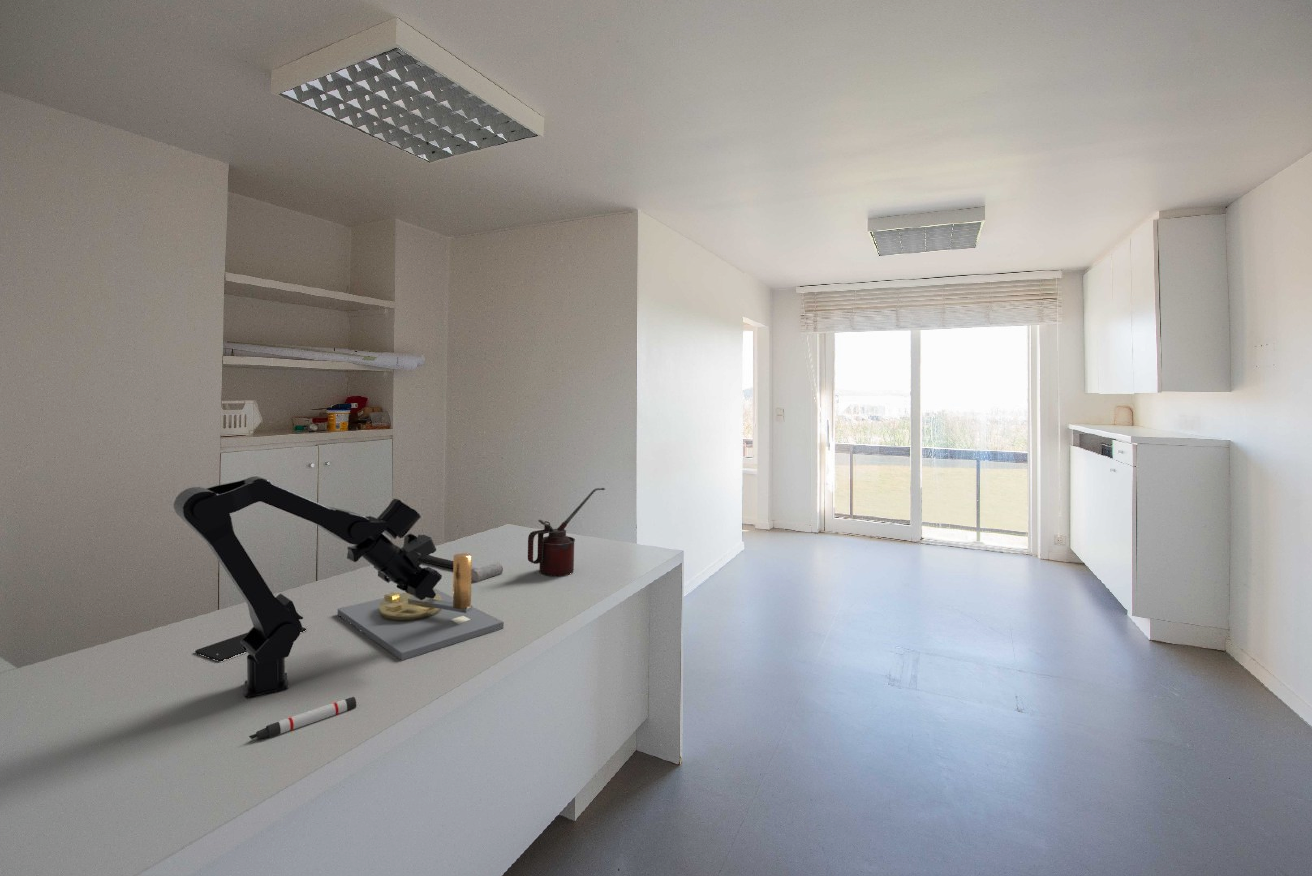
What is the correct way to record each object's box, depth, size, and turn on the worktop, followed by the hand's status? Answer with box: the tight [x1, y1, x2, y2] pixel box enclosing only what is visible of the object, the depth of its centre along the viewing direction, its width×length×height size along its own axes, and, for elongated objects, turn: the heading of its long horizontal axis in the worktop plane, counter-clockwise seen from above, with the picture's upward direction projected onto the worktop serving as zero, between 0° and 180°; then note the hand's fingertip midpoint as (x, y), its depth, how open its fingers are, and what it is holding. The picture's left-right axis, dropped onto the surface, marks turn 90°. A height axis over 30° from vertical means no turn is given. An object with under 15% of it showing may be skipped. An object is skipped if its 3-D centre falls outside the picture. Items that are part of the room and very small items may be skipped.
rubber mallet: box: [419, 554, 504, 583], centre depth 180 cm, size 10×4×30 cm
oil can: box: [527, 487, 606, 577], centre depth 184 cm, size 28×11×25 cm, turn 134°
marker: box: [248, 696, 357, 740], centre depth 95 cm, size 15×2×2 cm, turn 137°
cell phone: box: [195, 626, 307, 662], centre depth 125 cm, size 9×18×1 cm, turn 156°
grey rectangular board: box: [337, 587, 505, 661], centre depth 139 cm, size 34×24×2 cm
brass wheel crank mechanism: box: [379, 552, 473, 621], centre depth 139 cm, size 24×14×15 cm, turn 72°
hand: (433, 596), depth 130 cm, fingers closed
